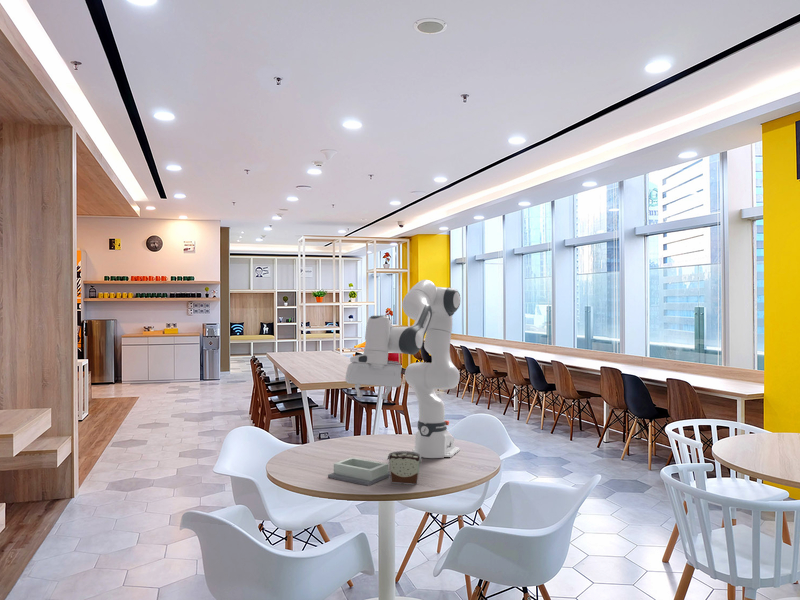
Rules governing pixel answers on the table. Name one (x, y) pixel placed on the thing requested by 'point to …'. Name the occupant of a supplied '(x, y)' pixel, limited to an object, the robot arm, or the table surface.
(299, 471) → the table surface
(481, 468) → the table surface
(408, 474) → the food container
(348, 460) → the tray
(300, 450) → the table surface
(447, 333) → the robot arm
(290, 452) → the table surface
